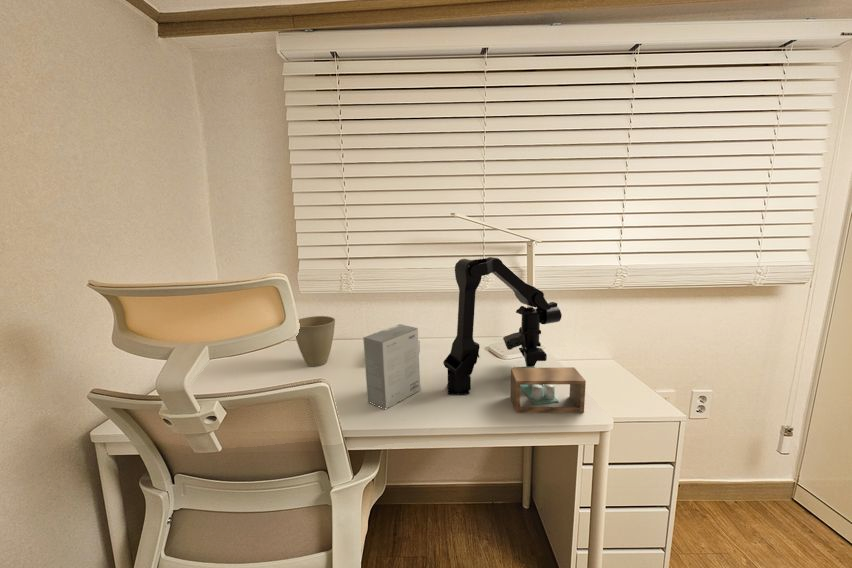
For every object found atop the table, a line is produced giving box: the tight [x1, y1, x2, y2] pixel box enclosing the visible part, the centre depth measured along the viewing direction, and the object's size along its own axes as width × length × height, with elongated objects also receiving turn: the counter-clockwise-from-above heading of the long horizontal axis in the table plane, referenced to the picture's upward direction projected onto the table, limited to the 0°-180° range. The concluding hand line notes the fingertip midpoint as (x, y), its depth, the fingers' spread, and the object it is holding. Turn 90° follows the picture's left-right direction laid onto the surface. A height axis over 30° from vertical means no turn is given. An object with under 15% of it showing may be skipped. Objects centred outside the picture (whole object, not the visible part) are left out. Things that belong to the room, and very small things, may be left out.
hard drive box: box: [362, 324, 421, 410], centre depth 114 cm, size 16×8×20 cm, turn 141°
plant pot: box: [295, 315, 336, 367], centre depth 142 cm, size 15×15×16 cm
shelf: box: [509, 366, 586, 413], centre depth 108 cm, size 18×9×9 cm, turn 88°
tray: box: [512, 365, 559, 405], centre depth 118 cm, size 18×7×5 cm, turn 7°
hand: (529, 371), depth 129 cm, fingers closed
